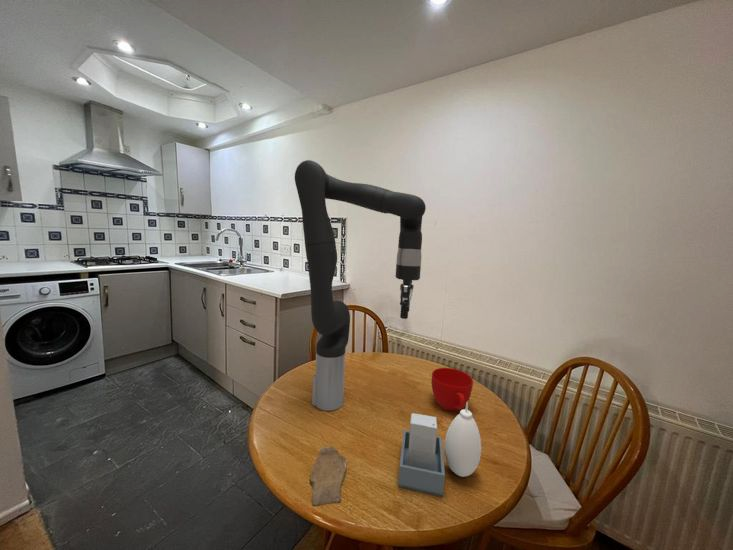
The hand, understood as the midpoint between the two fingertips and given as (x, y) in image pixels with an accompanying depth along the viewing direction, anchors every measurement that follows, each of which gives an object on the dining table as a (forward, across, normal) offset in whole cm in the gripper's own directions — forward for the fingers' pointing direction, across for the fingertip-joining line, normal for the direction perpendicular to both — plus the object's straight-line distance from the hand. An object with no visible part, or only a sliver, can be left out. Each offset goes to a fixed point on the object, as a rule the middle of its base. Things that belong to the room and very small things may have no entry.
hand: (404, 314), depth 89 cm
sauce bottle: (+30, -24, -17) cm, 42 cm away
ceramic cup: (+30, +2, -17) cm, 35 cm away
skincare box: (+30, -25, -7) cm, 40 cm away
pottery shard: (+31, -32, +13) cm, 46 cm away
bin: (+30, -26, -8) cm, 40 cm away
